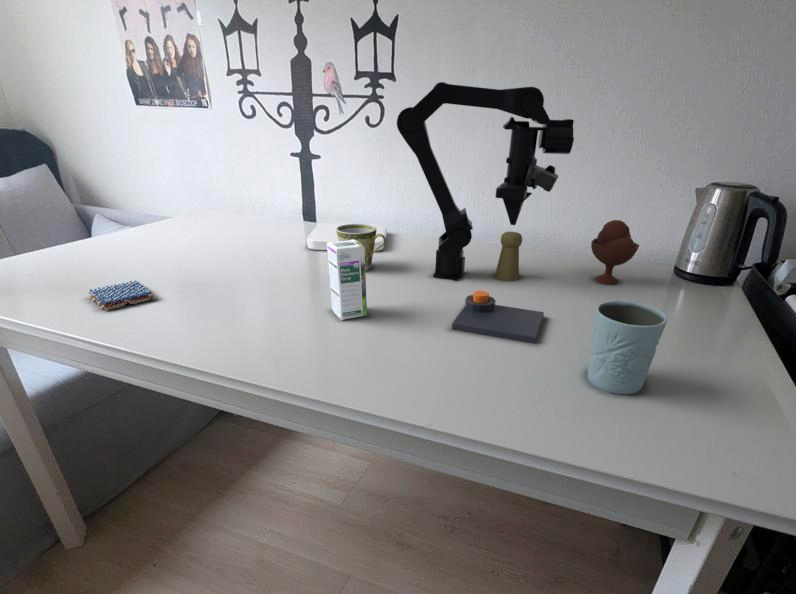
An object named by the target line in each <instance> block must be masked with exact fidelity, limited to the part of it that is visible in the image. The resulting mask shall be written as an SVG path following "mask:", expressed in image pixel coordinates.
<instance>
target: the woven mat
mask: <svg viewBox="0 0 796 594" xmlns="http://www.w3.org/2000/svg"><path fill="white" fill-rule="evenodd" d="M88 294H89V295H88V298H89V300H90V299H91V301H92V302H93V303H94V302H95V303H97V305H98V307H99V309H100V310H105V311H110V310H115V309H118V308H123V307H124V306H126V305H136V304H140V303H143V302H147V301H149V300H150V299H154V298H155V297H156V295H155V294H153V291H152V289H149V287H147V286H145V285H144V284H143V283H141V282H140V281H137V280H134V281H132V280H129V281H127V282H126V283H125V282H122V283H119V284H116V283H114V284H113V285H110V286H109V285H106V286H103V287H99V286H98V287H97V288H93V289H92V288H90V289H89V292H88Z"/></svg>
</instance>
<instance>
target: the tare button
mask: <svg viewBox="0 0 796 594" xmlns="http://www.w3.org/2000/svg"><path fill="white" fill-rule="evenodd" d="M472 295H473V301H474V302H477V303H487V302H488V298H489V296H490V293H489V292H488V291H485V290H475V291H473V294H472Z"/></svg>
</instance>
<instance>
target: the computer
mask: <svg viewBox="0 0 796 594" xmlns="http://www.w3.org/2000/svg"><path fill="white" fill-rule="evenodd" d="M347 224H348V223H340V222H324V223H319V224H317V225H316V226H315V227H314V228H313V230H312V231H311V233H310V234H309V235H308V236H307V237H306V243H307V248H308V249H311V250H315V251H327V243H328V242H339V241H338V236H337V231H336V228H337V227H339V226H342V225H347ZM365 224H366V225H371V226H374V227H376V235H377V234H382V235H384V237H385V239H386V240H387V235H388V226H387V225H384V224H379V223H377V224H375V223H365ZM383 243H384V239H383V238H382V237H380V236H379V237H377V238H376V239H375V244H374V250H373V251H375V250H376V249H377V248H378V247H379V246H381V245H382V244H383ZM384 248H385V244H384V245H383V246H382V247H381V248H379V249H378V250H377V251H376V252H379V251H382V250H384Z"/></svg>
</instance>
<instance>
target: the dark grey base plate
mask: <svg viewBox="0 0 796 594" xmlns="http://www.w3.org/2000/svg"><path fill="white" fill-rule="evenodd" d="M496 302H497V301H496V299H495V298H494V297H492V296H490V295H489V298H488V302H487V303H477V302H474V301H473V294H469V295H467V296H466V298H465V300H464V307H463V308H462V309H461V311H460V312H459V314H458V315H457V316H456V318H455V319H454V321H453V322H452V323H451V330H452V331H457V332H463V333H469V334H474V335H475V334H476V335H481V336H487V337H491V338H499V339H503V340H504V339H505V340H509V341H510V340H511V341H517V342H522V343H528V344H533V345H534V344H535V343H536V340H537V337H538V334H539V332H540V328H541V325H542V322H543V319H544V316H545V315H544V314H545V312H544V311H539V310H532V309H526V308H520V307H513V306H506V305H499V304H496Z"/></svg>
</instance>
